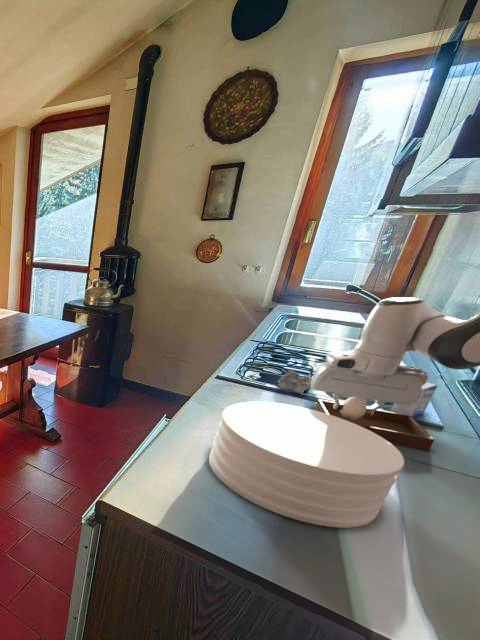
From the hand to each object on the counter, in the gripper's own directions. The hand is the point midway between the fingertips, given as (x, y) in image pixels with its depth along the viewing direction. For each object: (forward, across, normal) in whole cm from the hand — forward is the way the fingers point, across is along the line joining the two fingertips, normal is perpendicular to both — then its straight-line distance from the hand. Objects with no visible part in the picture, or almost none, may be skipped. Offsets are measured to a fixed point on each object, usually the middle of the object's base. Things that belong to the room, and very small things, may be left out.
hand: (351, 411), depth 103 cm
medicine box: (+4, -17, -18) cm, 25 cm away
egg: (+2, 0, 0) cm, 2 cm away
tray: (+4, -4, 0) cm, 5 cm away
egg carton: (+4, +8, -24) cm, 26 cm away
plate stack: (+4, +18, +39) cm, 43 cm away
